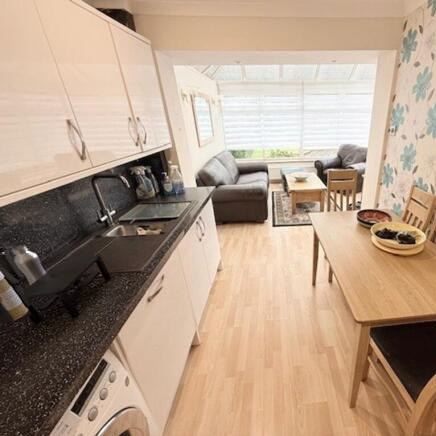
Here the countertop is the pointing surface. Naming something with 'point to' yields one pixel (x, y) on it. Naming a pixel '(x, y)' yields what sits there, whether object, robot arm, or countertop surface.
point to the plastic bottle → (28, 263)
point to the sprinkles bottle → (11, 300)
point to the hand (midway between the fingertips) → (15, 313)
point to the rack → (63, 284)
